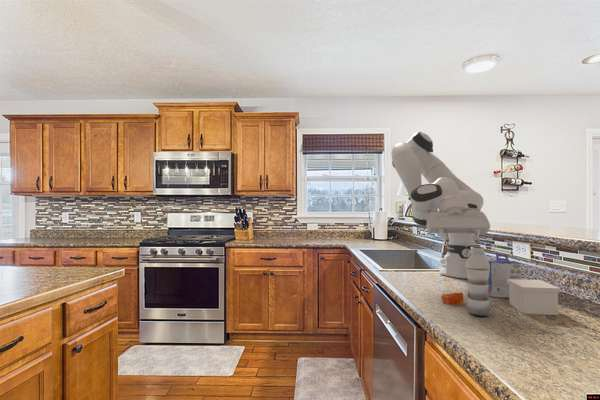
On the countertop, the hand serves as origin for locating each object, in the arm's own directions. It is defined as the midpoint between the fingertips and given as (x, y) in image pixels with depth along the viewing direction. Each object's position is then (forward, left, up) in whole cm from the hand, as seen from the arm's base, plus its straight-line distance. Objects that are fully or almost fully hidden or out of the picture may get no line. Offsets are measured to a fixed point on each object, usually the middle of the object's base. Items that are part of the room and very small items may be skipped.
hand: (461, 241), depth 105 cm
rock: (+1, -4, -21) cm, 22 cm away
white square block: (+5, +18, -20) cm, 28 cm away
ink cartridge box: (-9, +16, -20) cm, 28 cm away
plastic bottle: (+12, 0, -20) cm, 24 cm away
